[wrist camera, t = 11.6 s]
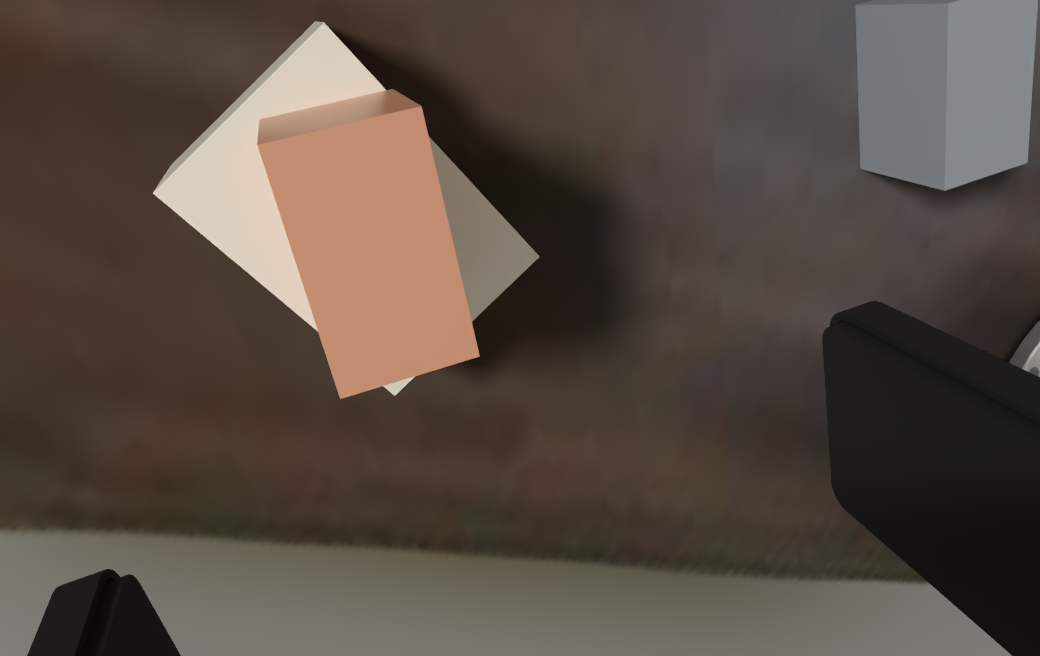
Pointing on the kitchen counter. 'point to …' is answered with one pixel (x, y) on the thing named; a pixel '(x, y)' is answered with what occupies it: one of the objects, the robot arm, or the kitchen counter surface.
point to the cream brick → (251, 204)
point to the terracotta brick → (370, 237)
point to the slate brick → (944, 88)
